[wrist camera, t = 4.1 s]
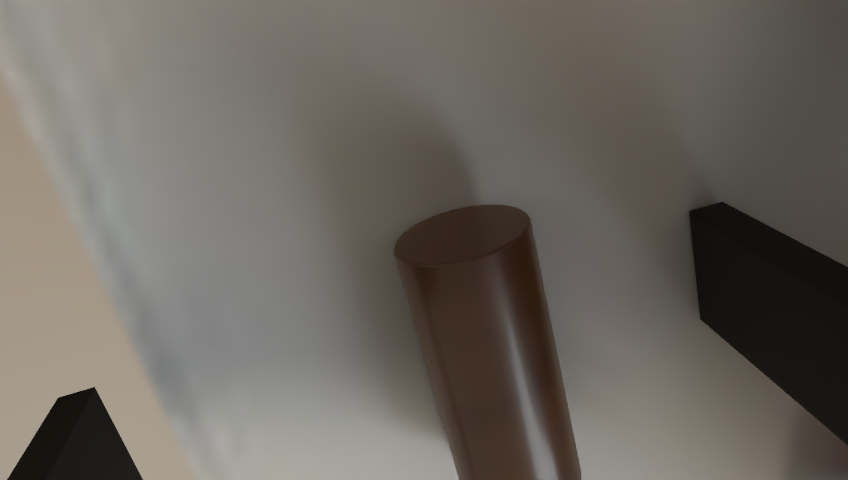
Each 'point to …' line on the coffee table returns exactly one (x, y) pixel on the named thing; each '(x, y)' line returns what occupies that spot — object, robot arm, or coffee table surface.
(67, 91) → the coffee table surface
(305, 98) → the coffee table surface
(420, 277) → the brown cylinder
